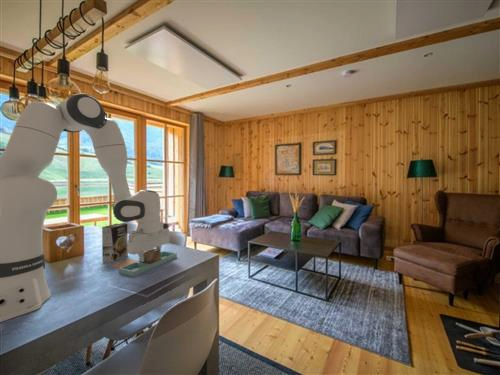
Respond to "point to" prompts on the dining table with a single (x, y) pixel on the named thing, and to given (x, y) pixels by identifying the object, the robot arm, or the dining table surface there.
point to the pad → (124, 263)
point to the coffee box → (114, 242)
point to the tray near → (134, 269)
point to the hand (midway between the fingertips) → (150, 258)
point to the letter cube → (152, 255)
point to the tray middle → (155, 263)
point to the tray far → (168, 256)
